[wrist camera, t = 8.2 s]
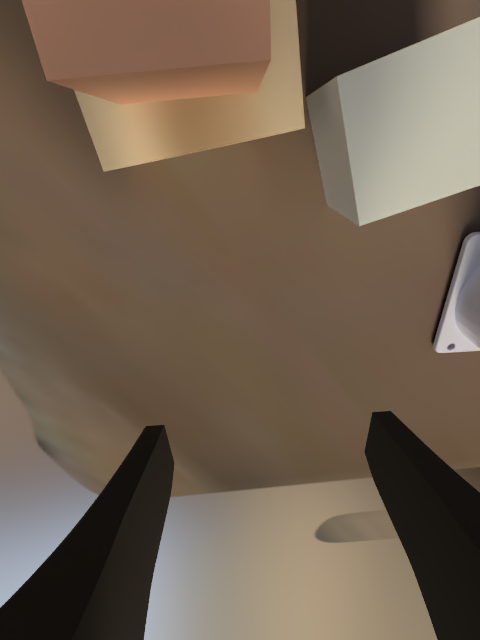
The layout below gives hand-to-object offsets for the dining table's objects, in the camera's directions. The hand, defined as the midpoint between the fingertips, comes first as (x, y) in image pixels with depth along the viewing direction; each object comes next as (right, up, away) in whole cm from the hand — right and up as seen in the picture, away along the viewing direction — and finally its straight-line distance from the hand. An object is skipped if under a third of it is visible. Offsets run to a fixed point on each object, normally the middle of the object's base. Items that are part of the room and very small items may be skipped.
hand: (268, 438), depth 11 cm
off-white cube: (+5, +13, +4) cm, 15 cm away
